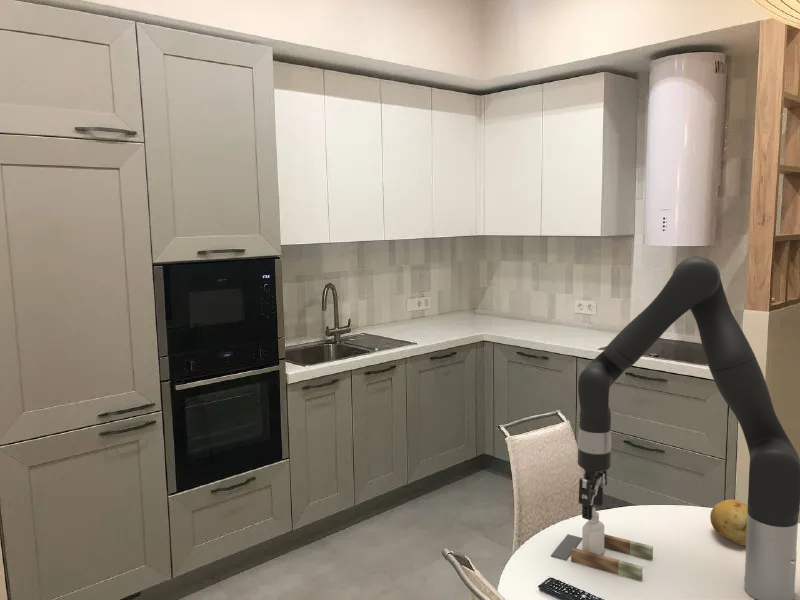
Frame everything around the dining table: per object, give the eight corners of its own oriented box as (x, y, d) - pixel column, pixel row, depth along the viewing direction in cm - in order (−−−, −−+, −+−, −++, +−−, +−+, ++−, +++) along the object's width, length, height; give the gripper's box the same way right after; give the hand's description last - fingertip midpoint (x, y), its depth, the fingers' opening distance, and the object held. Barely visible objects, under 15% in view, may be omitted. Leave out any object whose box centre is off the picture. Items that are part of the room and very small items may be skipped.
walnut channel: (652, 558, 150) (653, 546, 149) (641, 581, 140) (641, 569, 140) (586, 540, 159) (586, 529, 158) (571, 561, 149) (571, 549, 149)
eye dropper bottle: (607, 559, 150) (608, 511, 148) (584, 559, 150) (584, 512, 148) (601, 549, 154) (602, 503, 153) (579, 550, 154) (579, 503, 153)
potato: (734, 525, 164) (735, 489, 163) (770, 550, 152) (772, 510, 151) (699, 530, 162) (700, 493, 161) (732, 555, 150) (734, 515, 149)
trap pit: (582, 539, 160) (582, 537, 160) (566, 560, 150) (566, 559, 150) (567, 535, 162) (567, 534, 162) (550, 556, 152) (550, 555, 152)
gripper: (601, 459, 141) (599, 528, 143) (618, 440, 152) (616, 503, 155) (568, 453, 145) (567, 519, 147) (588, 435, 157) (586, 496, 159)
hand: (592, 511), depth 151 cm, fingers open, 8 cm apart
